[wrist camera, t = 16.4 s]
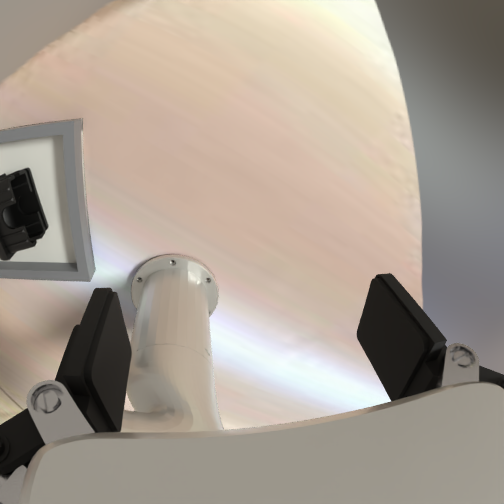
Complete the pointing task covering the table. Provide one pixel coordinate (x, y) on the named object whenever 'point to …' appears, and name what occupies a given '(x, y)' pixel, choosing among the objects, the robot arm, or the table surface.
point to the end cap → (19, 213)
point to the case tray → (52, 200)
